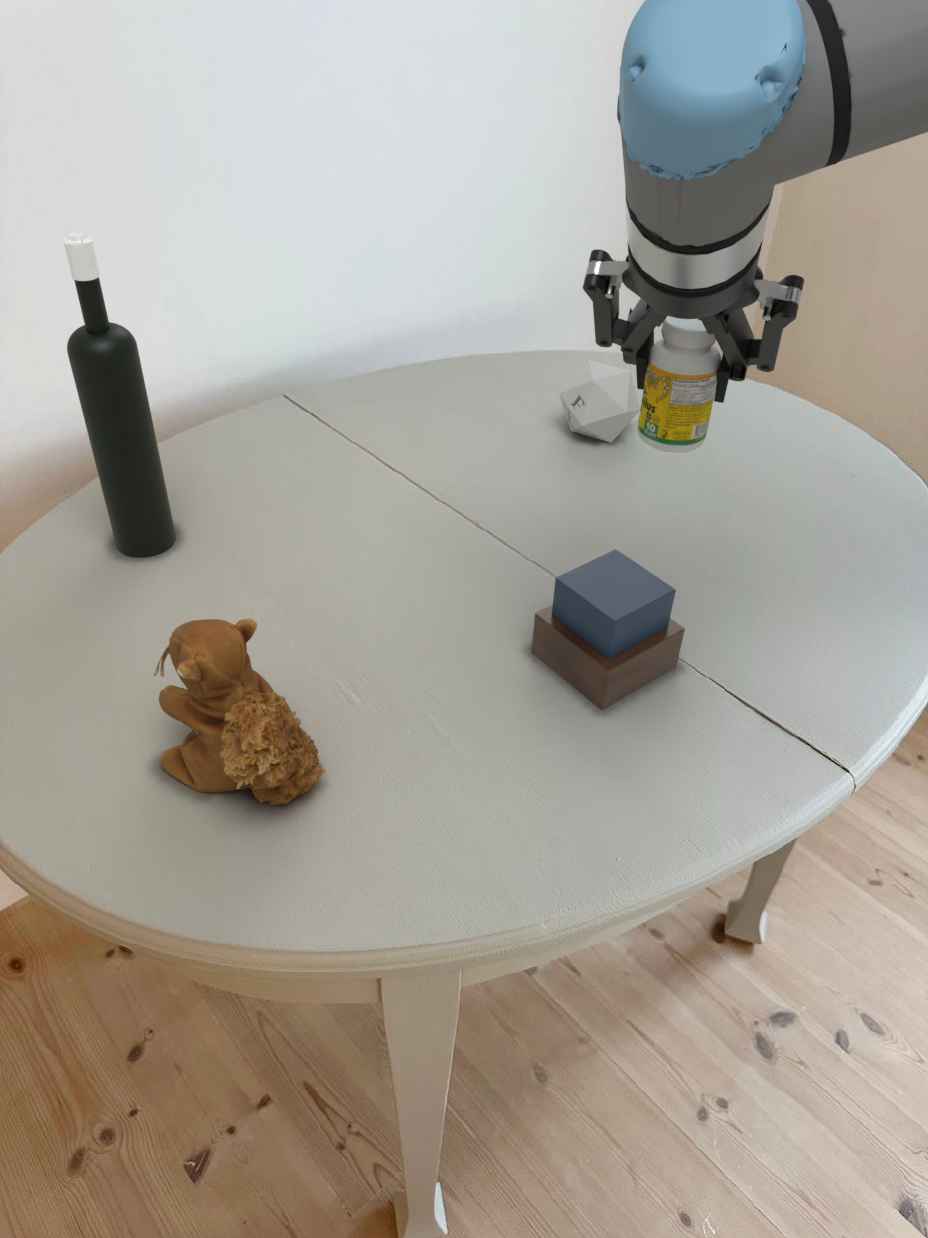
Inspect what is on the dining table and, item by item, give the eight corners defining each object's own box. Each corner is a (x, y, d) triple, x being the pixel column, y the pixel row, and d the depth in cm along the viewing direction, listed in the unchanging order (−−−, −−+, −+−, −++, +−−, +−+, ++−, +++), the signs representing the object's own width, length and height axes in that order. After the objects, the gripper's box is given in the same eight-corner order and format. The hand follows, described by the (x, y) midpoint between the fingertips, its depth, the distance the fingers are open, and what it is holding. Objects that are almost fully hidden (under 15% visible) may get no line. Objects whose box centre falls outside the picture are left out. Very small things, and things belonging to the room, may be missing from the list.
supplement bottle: (710, 456, 73) (736, 336, 67) (640, 453, 73) (660, 333, 67) (697, 422, 78) (721, 306, 71) (632, 420, 78) (650, 304, 71)
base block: (676, 667, 83) (685, 628, 80) (601, 711, 79) (608, 671, 76) (604, 614, 89) (610, 575, 86) (530, 652, 84) (534, 613, 81)
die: (558, 416, 120) (541, 375, 110) (619, 377, 119) (607, 332, 109) (592, 467, 116) (578, 428, 107) (656, 426, 115) (647, 384, 106)
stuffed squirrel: (251, 691, 80) (230, 564, 71) (364, 783, 72) (355, 654, 64) (145, 754, 74) (109, 624, 66) (256, 862, 67) (231, 731, 58)
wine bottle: (131, 565, 93) (55, 251, 73) (106, 538, 96) (27, 231, 77) (186, 544, 95) (126, 237, 76) (160, 518, 99) (96, 218, 80)
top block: (668, 626, 80) (676, 589, 78) (608, 659, 77) (615, 621, 75) (610, 585, 85) (616, 548, 82) (551, 615, 81) (555, 577, 79)
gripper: (880, 185, 52) (812, 352, 74) (550, 148, 56) (581, 317, 78) (852, 316, 51) (792, 444, 74) (521, 269, 55) (560, 405, 78)
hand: (683, 379), depth 76 cm, fingers closed on supplement bottle, 5 cm apart
